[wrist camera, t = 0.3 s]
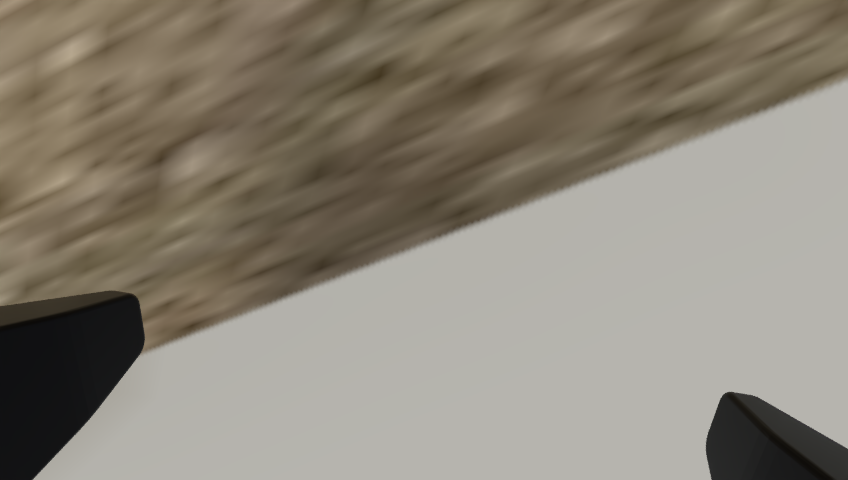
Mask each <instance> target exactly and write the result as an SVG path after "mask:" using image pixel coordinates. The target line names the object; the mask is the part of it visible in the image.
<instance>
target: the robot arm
mask: <svg viewBox="0 0 848 480" xmlns="http://www.w3.org/2000/svg"><path fill="white" fill-rule="evenodd" d="M144 341H145V334H144V328H143V322H142V316H141V310H140V304H139V300H138V298H137V297H136V296H135V295H134V294H131V293H125V292H119V291H104V292H97V293H90V294H83V295H76V296H69V297H62V298H55V299H48V300H41V301H34V302H27V303H20V304H13V305H7V306H0V480H33V479H34V478H35V477H36V476H37V474H38V473H39V472H40V471H41V470H42V469H43V468H44V467H45V466H46V465H47V464H48V463H49V462H50V461H51V460H52V458H54V457H55V455H56V454H57V453H58V452H59V451H60V450H61V449H62V448H63V447H64V446H65V445H66V444H67V443H68V442H69V441H70V440H71V439H72V437H73V436H74V435H75V434H76V433H77V432H78V431H79V430H80V429H81V428H82V427H83V426H84V425H85V423H86V422H87V421H88V420H89V419H90V418H91V416H92V415H93V414H94V413H95V412H96V410H97V409H98V408H99V407H100V405H101V404H102V403H103V402H104V400H105V399H106V398H107V396H108V395H109V394H110V393H111V391H112V390H113V389H114V387H115V386H116V385H117V383H118V382H119V381H120V380H121V378H122V377H123V376H124V374H125V373H126V372H127V371H128V369H129V368H130V367H131V365H132V364H133V363H134V361H135V360H136V359H137V358H138V356H139V355H140V353H141V351H142V349H143V346H144ZM706 455H707V460H708V465H709V469H710V474H711V479H712V480H848V449H847V448H845V447H843V446H842V445H840V444H838V443H837V442H835V441H833V440H831V439H829V438H828V437H826V436H824V435H823V434H821V433H819V432H817V431H816V430H814V429H812V428H810V427H809V426H807V425H805V424H803V423H802V422H800V421H798V420H797V419H795V418H793V417H791V416H790V415H788V414H786V413H784V412H783V411H781V410H779V409H777V408H776V407H774V406H772V405H770V404H769V403H767V402H765V401H763V400H762V399H760V398H758V397H755V396H753V395H747V394H741V393H734V392H727V393H725V394H724V395H723V396H722V398H721V399H720V402H719V404H718V407H717V410H716V413H715V416H714V419H713V421H712V424H711V427H710V429H709V432H708V435H707V441H706Z"/></svg>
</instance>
